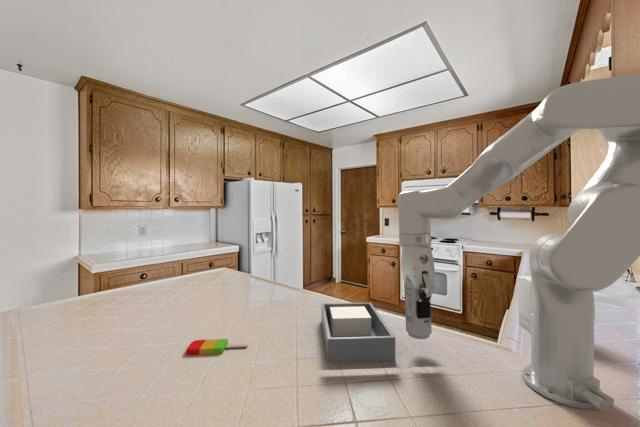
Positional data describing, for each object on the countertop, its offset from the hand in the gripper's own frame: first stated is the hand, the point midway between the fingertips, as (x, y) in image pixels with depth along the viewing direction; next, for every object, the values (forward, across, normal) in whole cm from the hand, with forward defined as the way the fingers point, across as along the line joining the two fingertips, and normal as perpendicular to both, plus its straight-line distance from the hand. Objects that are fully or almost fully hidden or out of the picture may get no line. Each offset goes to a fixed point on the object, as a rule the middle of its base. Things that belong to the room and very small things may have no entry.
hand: (417, 311), depth 67 cm
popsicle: (+10, +7, +51) cm, 53 cm away
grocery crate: (+10, +9, +15) cm, 20 cm away
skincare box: (+12, +13, -42) cm, 45 cm away
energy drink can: (+6, 0, 0) cm, 6 cm away
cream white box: (+9, +14, +15) cm, 23 cm away
